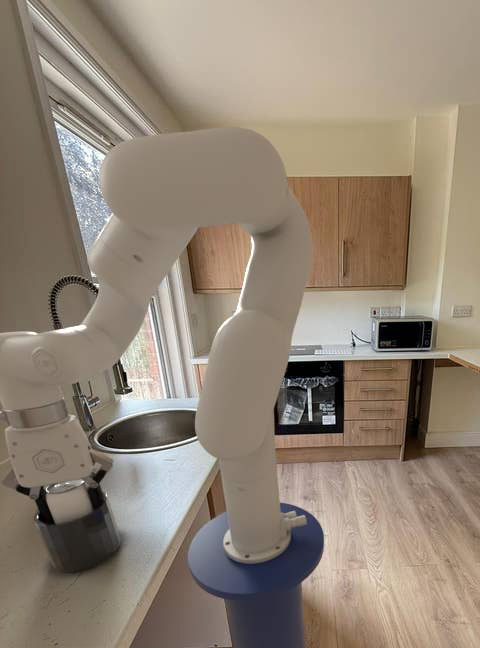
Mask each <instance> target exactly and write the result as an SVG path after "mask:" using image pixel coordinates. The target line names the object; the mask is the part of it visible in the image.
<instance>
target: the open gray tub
mask: <svg viewBox="0 0 480 648" xmlns="http://www.w3.org/2000/svg"><path fill="white" fill-rule="evenodd" d="M102 493H103V500H102V501H101V503H100V505H99V507H98V508H96V509H95V510H93V511H92V512H90V513H89V514H86V515H84V516H82V517H80V518H77V519H74V520H71V521H68V522H63V523H56V524H55V522H54V519H53V517H50V518H49V519H45V517H44V515H43V513H40V511H39V509H37V511H36V512H35V513H34V515H33V523H34V525H35V527H36V531H37V533H38V535H39V538H40V540H41V542H42V544H43V546H44V549H45V551H46V553H47V556H48V558H49V561H50V563H51V565H52V566H53V569H55V570H56V571H57V572H60V573H64V574H65V573H66V574H71V573H72V574H74V573H79V572H83V571H87V570H90V569H92V568H95V567H97V566H99V565H101V564H103V563H104V562H106V561H107V560H108V559H110V558H111V557H112V556H113V555H114V554H115V553H116V552H117V551H118V549H119V548H120V546H121V542H122V540H121V535H120V532H119V529H118V526H117V523H116V519H115V516H114V513H113V509H112V508H111V503H110V500H109V497H108V495H107V492H104V491H103V490H102Z"/></svg>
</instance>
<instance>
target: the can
mask: <svg viewBox="0 0 480 648" xmlns="http://www.w3.org/2000/svg"><path fill="white" fill-rule="evenodd" d="M88 488H89V486H88V485H87V484H86V483H85V482H84V481H83V480H82V479H77V480H72V481H67V482H62V483H56V484H51V485H47V486H46V488H45V490H46V492H47V495H46V501H47V504H48V507H49V509H50V512H51V514H52V517H53V519H54V522H55V524H56V523H63V522H68V521H71V520H74V519H77V518H80V517H82V516H84V515H86V514H89V513H90V512H92V511H93V510H95V508H93V506H92V503H91V500H90V497H89V494H88Z"/></svg>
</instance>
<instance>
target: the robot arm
mask: <svg viewBox="0 0 480 648" xmlns="http://www.w3.org/2000/svg"><path fill="white" fill-rule="evenodd" d="M98 180H99V182H98V183H99V189H100V192H101V196H102V198H103V200H104V202H105V204H106V206H107V207H108V209H109V210H110V211H111V215H110V217H109V218H108V220H107V222H106V223H105V224H104V227H103V228H102V230H101V232H100V234H99V235H98V237H97V238H96V239H95V241H94V243H93V245H92V246H91V248H90V249H89V251H88V253H87V257H86V261H87V265H88V267H89V269H90V270H91V272H92V273H93V274H94V275H95V277H96V278H97V282H98V293H97V296H96V298H95V301H94V303H93V305H92V307H91V309H90V310H89V312H88V313H87V315H86V316H85V318H84V319H83V321H81V323H80V324H79V325H75V326H69V327H64V328H60V329H54V330H48V331H43V332H39V333H37V332H34V331H24V330H23V331H9V332H6V331H5V332H0V404H1V406H2V409H1V410H0V421H5V422H6V423H7V425H8V427H6V428H5V429H4V436H5V442H6V448H7V452H8V456H9V460H10V463H11V466H12V469H11V470H10V471H9V472H8V473H7V474H6V476H5V477H4V478H3V479H2V481H1V485H3V486H5V487H6V488H9V489H12V490H15V491H16V492H17V493H20V494H22V495H24V496H26V497H29V499H30V500H32V501H34V503H35V505H36V507H37V510H39V511H40V513H43V515H44V517H45V519H49V518H50V517H52V514H51V512H50V509H49V507H48V504H47V501H46V495H47V492H46V488H45V487H46V486H49V485H51V484H56V483H62V482H67V481H72V480H77V479H82V480H83V481H84V482H85V483H86V484H87V485H88V486H89V488H88V494H89V497H90V500H91V503H92V506H93V508H95V509H96V508H98V507H99V505H100V503H101V501H102V500H103V493H102V491H103V490H102V487H101V484H100V483H101V482H102V480H103V479H104V478H105V477H106V475H107V474H108V472H109V471H110V469H111V468H112V467H113V465H114V463H115V462H114V461H115V460H114V459H113V458H111V457H109V456H107V455H105V454H103V453H100V452H98V451H97V450H94V449H93V448H92V445H91V442H90V441H89V438H88V437H87V436H88V435H87V433H86V434H85V432H86V431H85V430H84V429H83V427H82V426H81V423H80V422H79V420H78V418H77V417H76V415H74V414H70V411H69V408H68V405H67V403H66V399H65V397H64V394H63V391H62V388H61V386H70V385H74V384H77V383H80V382H83V381H84V380H87V379H88V378H91V377H93V376H95V375H98V374H100V373H102V372H105V371H107V370H109V369H111V368H112V367H114V366H115V365H116V363H118V362H119V361H120V360H121V358H122V356H123V355H124V354H125V352H126V351H127V350H128V348H129V347H130V345H131V344H132V343H133V341H134V340H135V339H136V337H137V336H138V334H139V332H140V330H141V328H142V325H143V324H144V322H145V319H146V317H147V316H146V315H147V313H148V310H149V307H150V302H151V299H152V298H153V296H154V294H155V293H156V291H157V290H158V289H159V287H160V286H161V284H162V283H163V281H164V279H165V278H166V277H167V276H168V274H169V272H170V271H171V270H172V268H173V266H174V265H175V264H176V261H178V259H179V258H180V256H181V255H182V253H183V252H184V251H185V249H186V247H187V246H188V245H189V244H190V242H191V240H192V239H193V237H194V236H195V234H196V232H197V231H198V229H199V228H205V227H206V228H207V227H215V226H225V225H226V226H227V225H238V226H239V227H240V228H242V229H243V230H245V232H246V233H248V235H249V237H250V239H251V253H250V258H249V261H248V264H247V266H246V270H245V275H244V279H243V284H242V289H241V293H240V296H239V300H238V303H237V306H236V310H235V313H234V315H232V316H230V317H229V318H227V319H226V320H225V321H224V322H223V323H222V324H221V326H220V327H219V328H218V330H217V332H216V334H215V336H214V338H213V342H212V344H211V347H210V350H209V355H208V359H207V364H206V368H205V372H204V376H203V381H202V386H201V390H200V394H199V399H198V403H197V406H196V412H195V417H194V430H195V435H196V438H197V440H198V442H199V444H200V445H201V447H202V448H203V450H204V451H205V452H206V453H208V454H209V455H210V456H212V457H214V459H218V463H219V470H220V478H221V484H222V490H223V496H224V503H225V509H226V511H227V516H228V522H229V528H230V529H229V530H228V531H227V533H226V534H225V536H224V539H223V546H224V550H225V553H226V554H227V555H228V557H230V558H231V559H233V560H235V561H237V562H240V563H246V564H255V563H261V562H266V561H268V560H271V559H273V558H275V557H277V556H278V555H280V554H281V553H282V552H283V551H284V550H285V549H286V548H287V547H288V545H289V543H290V540H291V532H290V531H291V528H294V527H300V526H304V525H307V521H306V517H305V515H302V516H298V517H296V512H295V511H292V512H289V513H285V514H284V513H281V510H280V503H281V500H280V489H279V478H278V477H279V476H278V463H277V451H276V437H275V436H276V435H275V434H276V433H275V410H274V409H275V406H276V403H277V400H278V397H279V393H280V390H281V387H282V384H283V381H284V377H285V374H286V371H287V368H288V363H289V361H290V355H291V350H292V341H293V334H294V330H295V327H296V324H297V321H298V317H299V313H300V311H301V307H302V303H303V299H304V295H305V291H306V288H307V285H308V281H309V277H310V273H311V269H312V263H313V236H312V232H311V227H310V224H309V220H308V217H307V215H306V213H305V211H304V208H303V207H302V204H301V203H300V201H299V200H298V198H297V196H296V195H295V194H294V192H293V191H292V189H291V187H290V186H289V183H288V176H287V171H286V167H285V165H284V162H283V159H282V156H281V155H280V153H279V152H278V149H277V148H276V147H275V146H274V145H273V143H271V141H270V140H269V139H268V138H266V137H265V136H264V135H263V134H261V133H259V132H257V131H255V130H252V129H249V128H244V127H238V126H228V127H227V126H226V127H216V128H214V127H213V128H207V129H199V130H198V129H197V130H190V131H181V132H180V131H179V132H170V133H168V132H167V133H159V134H152V135H144V136H138V137H132V138H129V139H127V140H123V141H121V142H119V143H118V144H116V145H115V146H113V147H111V149H110V150H109V151H107V153H106V154H105V156H104V158H103V159H102V162H101V165H100V168H99V176H98ZM96 463H97V464H98V465H101V467H99V469H98V470H97V471H95V470H94V466H95V465H96Z"/></svg>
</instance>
